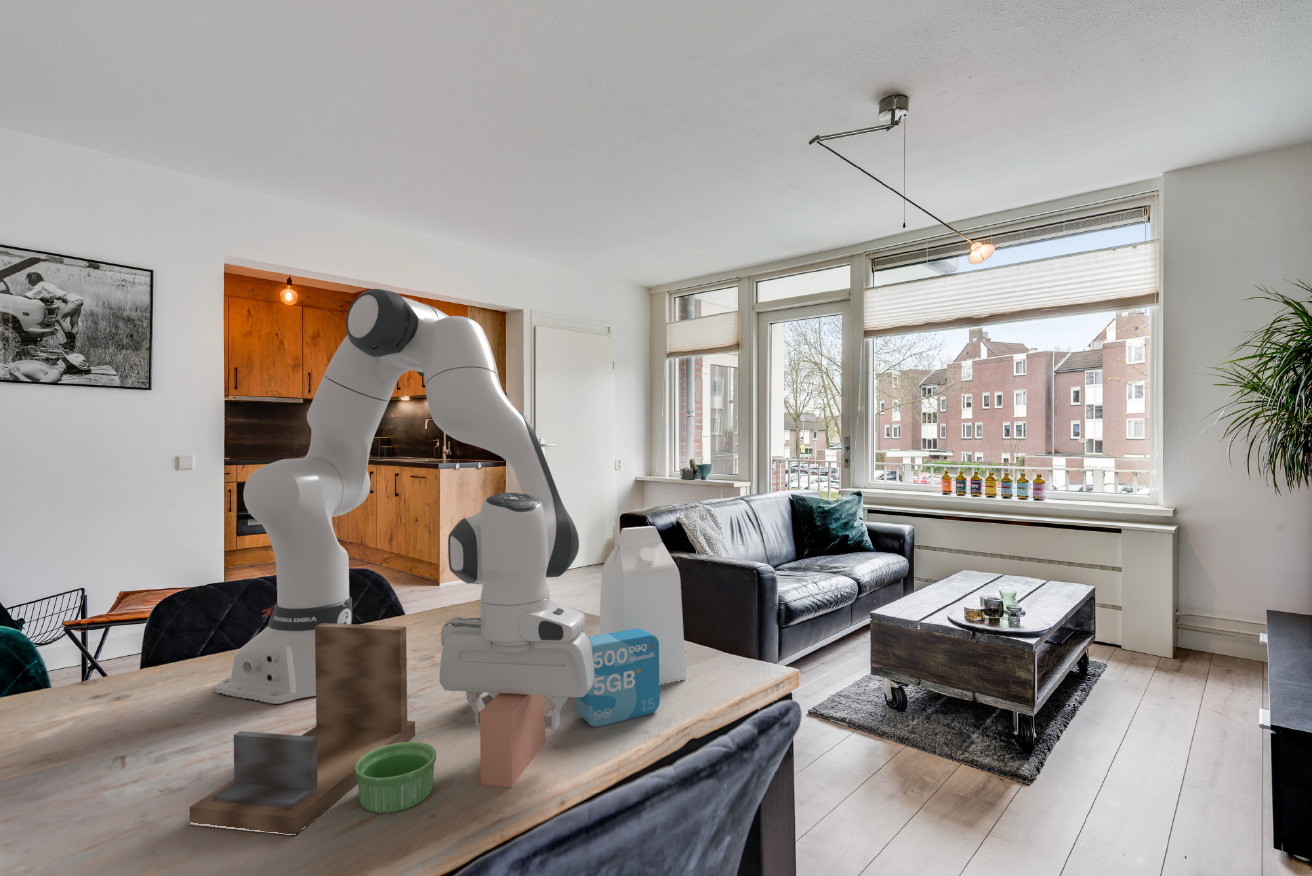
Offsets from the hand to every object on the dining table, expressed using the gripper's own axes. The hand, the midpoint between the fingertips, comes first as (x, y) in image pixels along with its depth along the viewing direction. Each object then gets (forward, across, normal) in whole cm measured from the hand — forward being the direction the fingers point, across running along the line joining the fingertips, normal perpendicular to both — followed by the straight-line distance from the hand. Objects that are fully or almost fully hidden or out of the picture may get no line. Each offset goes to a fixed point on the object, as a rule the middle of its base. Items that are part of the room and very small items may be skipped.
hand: (517, 725), depth 86 cm
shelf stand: (+4, -24, -6) cm, 25 cm away
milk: (+5, +10, +33) cm, 35 cm away
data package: (+5, +10, +16) cm, 19 cm away
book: (+5, 0, 0) cm, 5 cm away
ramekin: (+5, -11, -10) cm, 16 cm away
